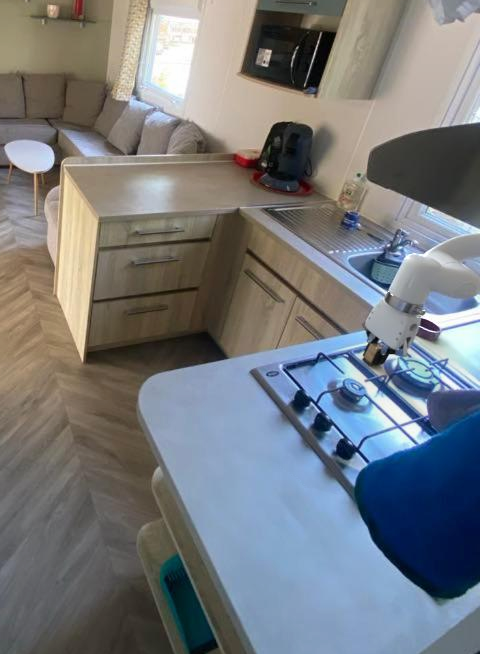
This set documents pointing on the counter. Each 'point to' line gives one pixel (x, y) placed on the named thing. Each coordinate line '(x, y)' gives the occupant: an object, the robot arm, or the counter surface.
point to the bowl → (429, 329)
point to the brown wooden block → (372, 353)
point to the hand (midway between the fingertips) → (372, 359)
